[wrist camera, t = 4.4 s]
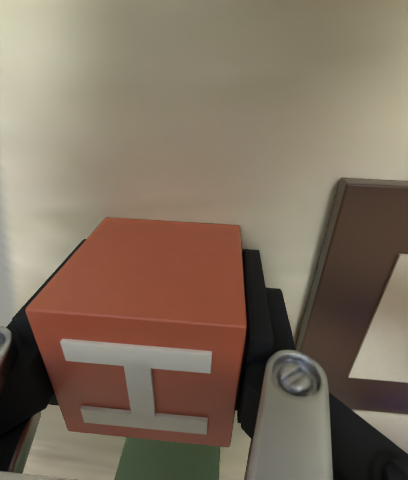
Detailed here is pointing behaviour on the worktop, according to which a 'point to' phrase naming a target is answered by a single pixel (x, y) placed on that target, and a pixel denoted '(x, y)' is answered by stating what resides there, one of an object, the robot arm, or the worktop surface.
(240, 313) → the letter H
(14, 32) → the worktop surface
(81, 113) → the worktop surface
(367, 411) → the word board
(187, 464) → the letter I
